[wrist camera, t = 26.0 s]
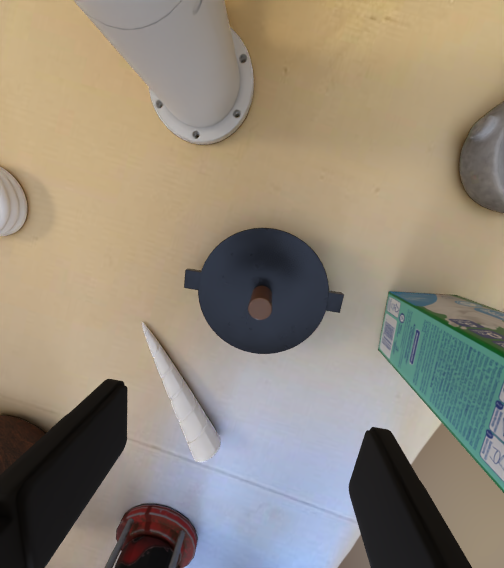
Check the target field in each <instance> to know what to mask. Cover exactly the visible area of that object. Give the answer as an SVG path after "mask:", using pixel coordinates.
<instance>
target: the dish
mask: <svg viewBox="0 0 504 568" xmlns="http://www.w3.org/2000/svg"><path fill="white" fill-rule="evenodd" d="M460 175H461V180H462V184H463V186H464V188H465V190H466V192H467V193H468V195H469V196H470V197H471V198H472V199H473V200H474V201H475V202H477V203H478V204H480V205H481V206H483V207H485V208H488V209H490V210H494V211H498V212H502V213H504V102H502V103H501V104H499V105H498V106H496V107H495V108H493V109H492V110H491V111H490V112H488V113H487V114H486V115H485V116H484V117H483V118H481V119H479V120H478V121H477V122H476V123H475V124H474V125H473V127H472V128H471V130H470V132H469V134H468V137H467V138H466V140H465V143H464V145H463V148H462V151H461V156H460Z"/></svg>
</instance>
